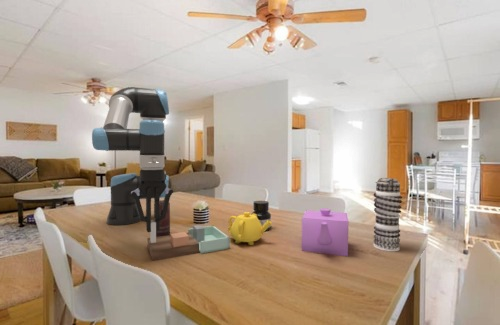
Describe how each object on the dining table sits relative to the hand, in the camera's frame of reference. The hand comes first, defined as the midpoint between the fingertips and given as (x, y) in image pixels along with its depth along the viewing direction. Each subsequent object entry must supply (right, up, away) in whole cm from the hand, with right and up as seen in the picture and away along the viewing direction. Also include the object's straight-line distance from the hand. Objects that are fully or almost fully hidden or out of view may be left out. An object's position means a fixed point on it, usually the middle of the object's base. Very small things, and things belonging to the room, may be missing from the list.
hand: (153, 241), depth 85 cm
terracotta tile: (+7, -2, +4) cm, 9 cm away
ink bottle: (+36, -4, +33) cm, 49 cm away
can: (-5, -5, +23) cm, 24 cm away
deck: (+4, -5, +7) cm, 10 cm away
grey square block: (+11, -2, +15) cm, 18 cm away
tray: (+16, -5, +13) cm, 21 cm away
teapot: (+31, -5, +17) cm, 36 cm away
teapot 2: (+58, -6, +9) cm, 59 cm away
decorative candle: (+81, -5, +10) cm, 82 cm away
